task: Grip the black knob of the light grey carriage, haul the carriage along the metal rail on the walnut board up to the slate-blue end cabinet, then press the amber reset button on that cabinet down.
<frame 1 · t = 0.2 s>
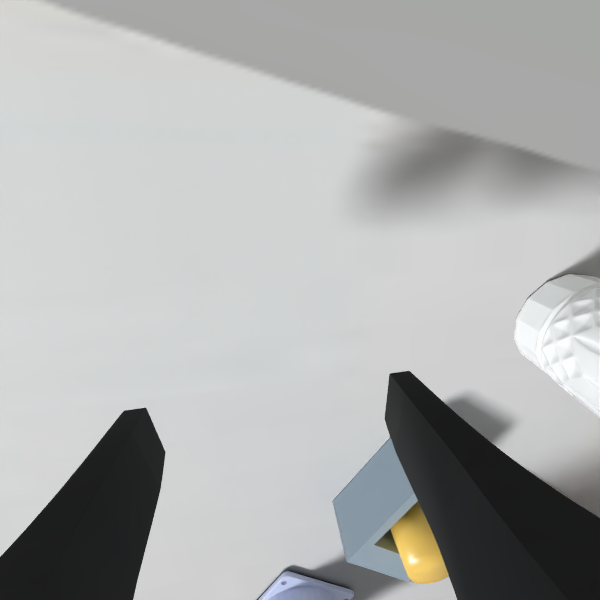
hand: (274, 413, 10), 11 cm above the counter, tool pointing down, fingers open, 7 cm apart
reset button: (419, 533, 23), point 4 cm above the counter, slide at 0.0 cm
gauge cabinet: (394, 476, 27), on the counter
white cup: (555, 317, 23), on the counter
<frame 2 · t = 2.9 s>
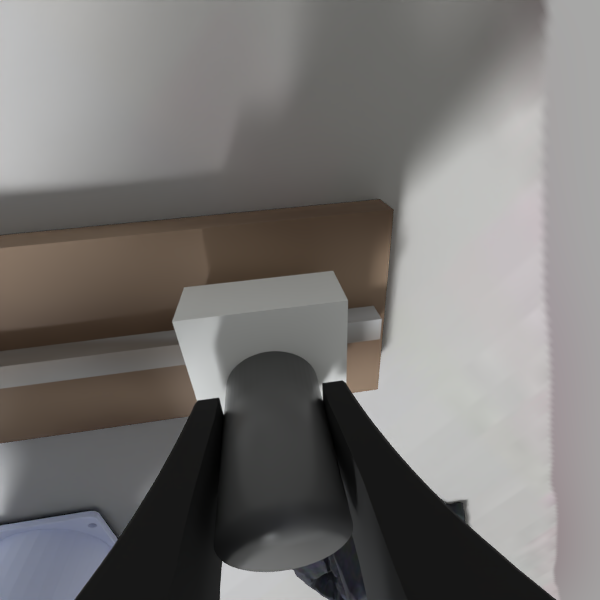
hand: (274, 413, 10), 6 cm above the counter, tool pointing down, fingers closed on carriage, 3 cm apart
rail board: (153, 322, 15), on the counter
dark grey folded cloth: (391, 560, 33), on the counter
carriage: (274, 404, 10), point 6 cm above the counter, slide at -5.0 cm, touching gripper
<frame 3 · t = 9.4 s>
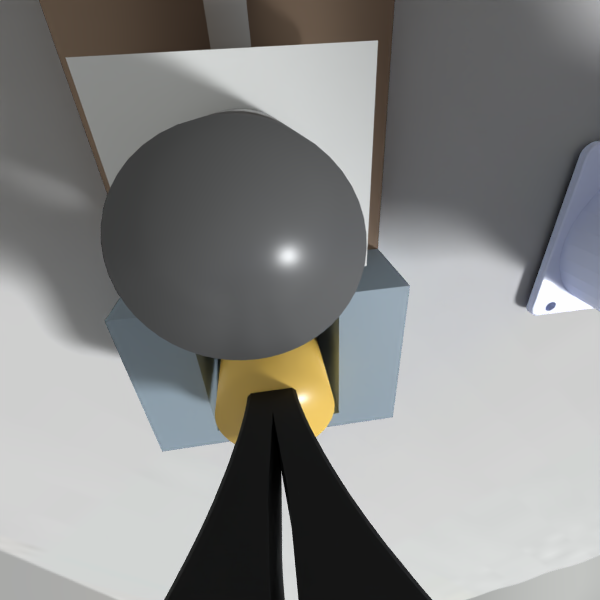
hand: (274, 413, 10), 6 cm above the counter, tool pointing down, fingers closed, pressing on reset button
reset button: (272, 368, 12), point 4 cm above the counter, slide at -0.5 cm, touching gripper
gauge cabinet: (267, 307, 15), on the counter
carriage: (245, 189, 7), point 6 cm above the counter, slide at 6.5 cm
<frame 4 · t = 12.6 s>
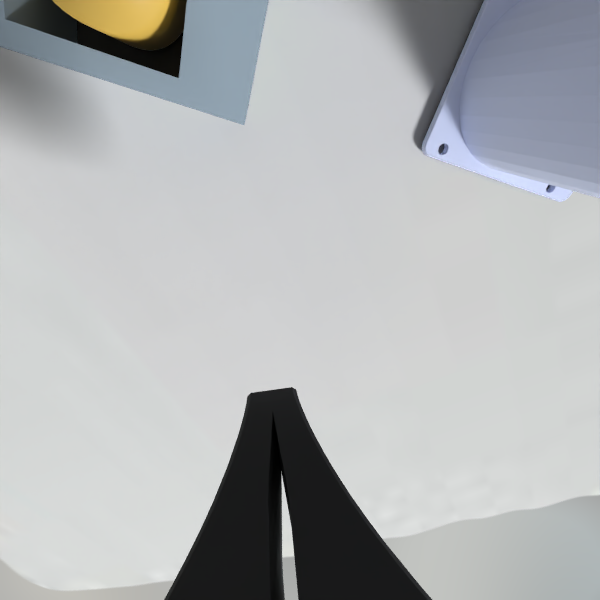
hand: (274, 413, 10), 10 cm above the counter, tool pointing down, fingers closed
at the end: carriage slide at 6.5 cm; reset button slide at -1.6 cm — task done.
